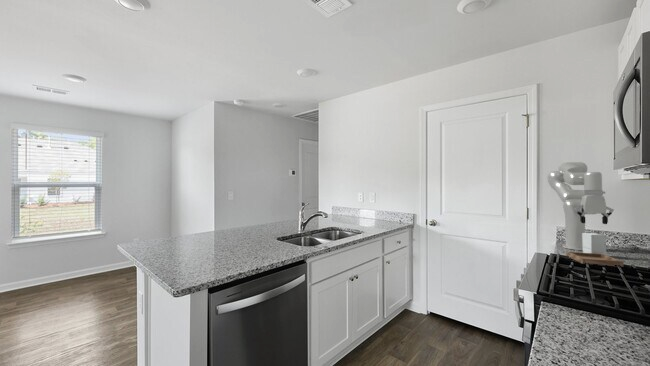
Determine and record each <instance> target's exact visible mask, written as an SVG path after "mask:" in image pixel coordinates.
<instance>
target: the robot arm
mask: <svg viewBox="0 0 650 366" xmlns="http://www.w3.org/2000/svg"><path fill="white" fill-rule="evenodd" d="M547 182H548V185H549V186H550V187H551V189H553V191H554V192H555V193H556V194H557V195H558V197H559V199H560V201H561V202H563V203H562V204H563V205H562V206H563V207H562V208H563V212H564V221H565V223H564V224H565V225H564V226H565V244H563V245H562V248H564V249H568V250H575V251H583V240H582V233H586V216H585V215H597V214H601V215H602V217H601V219H602V224H603V225H607V224H608V223H609V220H608V219H609V217H610V216H611V215H612V213H613V212H614V210H615V209H613V208H611V207H609V206H607V203H606V199H605V196H604V195H606V191H603V175H602V172H600V171H588V165H587V164H586V163H584V162H582V161H577V162H573V161H569V162H562V163H561V164H560V165H559V166H558V170H554V171H551V172H548V175H547ZM570 185H571V186H583V189H574V188H572V187H571V186H570ZM607 210H608V212H607Z"/></svg>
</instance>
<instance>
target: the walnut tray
mask: <svg viewBox="0 0 650 366" xmlns="http://www.w3.org/2000/svg"><path fill="white" fill-rule="evenodd" d="M565 256H566V257H567V256H569V257H568V258H570V257H571V258H570V259H572V260H574V261H577V262H578V263H580V264H582V265H586V264H585V263H586V262H588V263H589V264H588V265H593V264H598V266H606V265H607V266H608V267H616V266H615V265H620V266H621V267H620V268H623V267H624V266H625V264H624V261H623V260H621V259H618V258H614V257H612V256H609V255H607V254H606V255H604V254H596V253H583V252H579V251H566V255H565Z"/></svg>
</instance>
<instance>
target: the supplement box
mask: <svg viewBox="0 0 650 366" xmlns="http://www.w3.org/2000/svg"><path fill="white" fill-rule="evenodd" d="M582 240H583V250H582V253H596V254H604V255H607V237H606V234H603V233H602V234H601V233H596V232H585V233H582Z"/></svg>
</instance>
